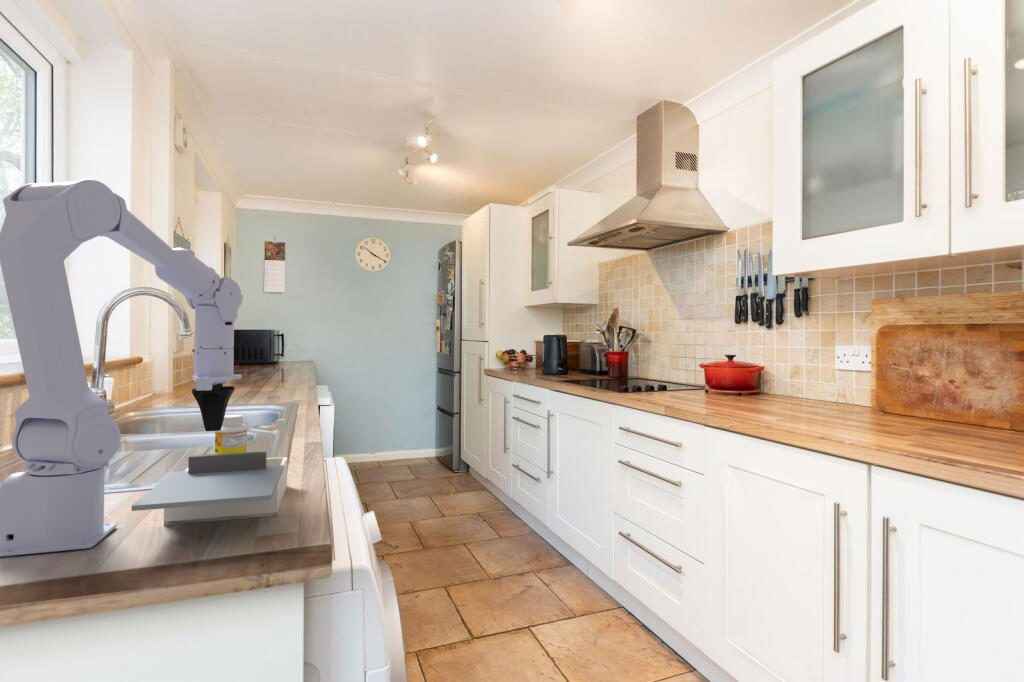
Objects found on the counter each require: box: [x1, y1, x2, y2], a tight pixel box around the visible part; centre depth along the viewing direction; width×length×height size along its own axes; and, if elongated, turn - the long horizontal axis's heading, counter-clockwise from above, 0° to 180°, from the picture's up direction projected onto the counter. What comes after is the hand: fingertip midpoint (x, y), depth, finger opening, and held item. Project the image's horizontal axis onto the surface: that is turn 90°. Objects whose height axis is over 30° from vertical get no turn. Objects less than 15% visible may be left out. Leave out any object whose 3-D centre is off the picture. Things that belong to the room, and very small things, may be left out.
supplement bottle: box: [214, 414, 248, 454], centre depth 103 cm, size 6×6×10 cm
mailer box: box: [163, 456, 288, 526], centre depth 81 cm, size 14×16×5 cm
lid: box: [131, 451, 284, 512], centre depth 71 cm, size 15×17×3 cm
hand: (213, 430), depth 88 cm, fingers closed
